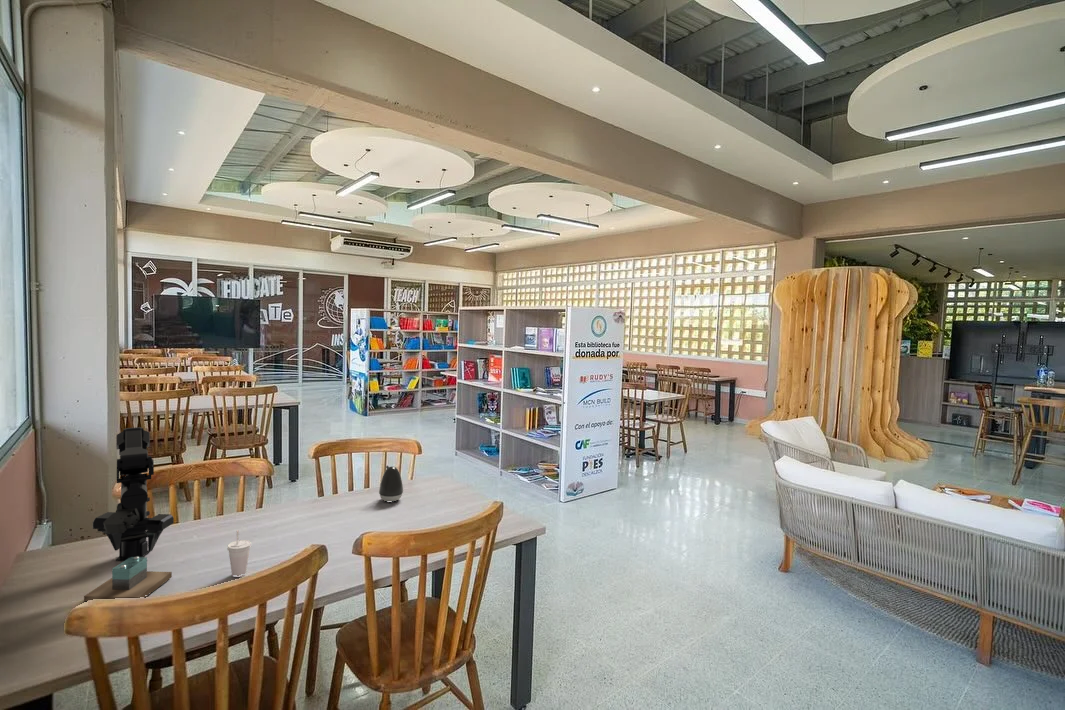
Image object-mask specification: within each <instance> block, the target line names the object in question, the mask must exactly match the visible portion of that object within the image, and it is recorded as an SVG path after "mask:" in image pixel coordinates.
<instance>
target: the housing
mask: <svg viewBox="0 0 1065 710" xmlns="http://www.w3.org/2000/svg"><path fill="white" fill-rule="evenodd" d="M147 571H148V557H146V556H143V557H138V556H137V557H130V558H128V559H127V560H125V561H122V562H121V563H119V564H117V565H116V566H114V567H112V571H111V574H112V576H111V578H112V590H130V589H131V588H133V587H134V586H136V585H137V584H138V583H140V582H141V581H143V580H144V579H145V578H147Z"/></svg>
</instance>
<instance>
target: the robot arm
mask: <svg viewBox="0 0 1065 710" xmlns="http://www.w3.org/2000/svg"><path fill="white" fill-rule="evenodd" d="M150 438H151V435H150V431H147V430H144V427H141V426H139V427H137V426H136V427H135V426H134V427H127V428H123V430H122V431H121V432H119V433H117V434H116V444H115V445H116V446H115V447H116V450H119V452H118V453H119V458H116V484H120V502H119V503H117V505H116V510H115V512H114V511H106V512H105V513H103V514H101V515H98V516H97V517H95V518H94V519H93V521H92V529H93V530H97V531H98V532H101V533H103V534H105V535H106V536H107V538H108V540H109V541H110V543H111V546H112V547H113V550H114V551H115V552H116V551H119V553H118V555H119V556H118V557H116V558H115V561H120V562H121V561H122V562H123V561H125V560H127V559H128V558H130V557H137V556H138V557H146V555H148V554H150V553H151V552H153V550H154V548H155V546H156V544H157V542H158V540H159V538H160V536H161V534H162V533H163V532H164V530H166V528H167V529H168V527H169V526H171V525H173V524H174V522H175V520H174V516H173V515H172V514H171V513H170V514H169V513H168V514H166V513H164V514H163V513H158V514H156V515H154V516H153V517H149V516H150V513H151V512H150V510H147V503H148V502H150V501H151V499H150V498H151V497H150V496H148V487H147V483H148V481H147V480H152V476H153V475H154V474H155V468H154V467H155V466H154V459H153V458H152V455H149V453H148V452H149V451H148V448H149V447H150V446H151V444H150V443H151V440H150Z"/></svg>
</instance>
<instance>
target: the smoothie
mask: <svg viewBox="0 0 1065 710" xmlns="http://www.w3.org/2000/svg"><path fill="white" fill-rule="evenodd" d="M239 535H240V532H239V530H236V540H235V541H231V542H230V543H228V545H227V548H226V549H227V551H228V555H229V556H228V557H229V563H230V564H229V565H230V570H231V572H230V573H231V576H232V575H237V576H239V575H241V574H245V573H246V574H247V569H248V562H249V557H250V550H251V549H250V548H251V547H252V542H251V541H250V540H248V539H239V538H240V537H239ZM245 576H246V575H242V576H240V578H243V577H245Z"/></svg>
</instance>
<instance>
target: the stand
mask: <svg viewBox="0 0 1065 710" xmlns="http://www.w3.org/2000/svg"><path fill="white" fill-rule="evenodd" d="M172 574H173V573H172V571H150V570H149V571H148V570H147V578H145V579H144V580H143V581H141V582H140V583H138V584H137V585H136V586H134V587H133V588H131V589H130V590H112V577H111V578H110V579H108V580H106V581H104V582H103V583H101V584H100V585H99V586H97V587H95V588H94V589H92V590H91V591H89V592H88V593H86V594H84V595H83V602H84V603H86V602H85V601H88V600H93V599H115V598H140V597H145V598H147V597H148V596H149V595H150V594H152V593H153V592H154V591H156V590H157V589H158V588H160V587H161V586H162V585H163V584H164V583H166V582H167V581H168V580H170V579H171V578H172V576H173V575H172ZM151 592H152V593H151ZM149 593H150V594H149ZM148 594H149V595H148ZM145 595H148V596H145Z"/></svg>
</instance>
